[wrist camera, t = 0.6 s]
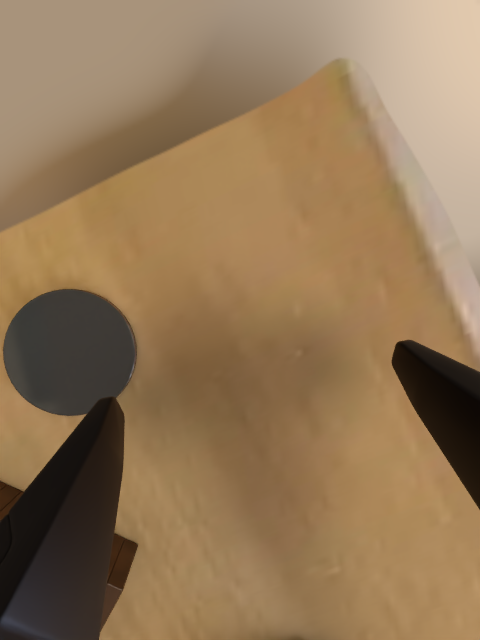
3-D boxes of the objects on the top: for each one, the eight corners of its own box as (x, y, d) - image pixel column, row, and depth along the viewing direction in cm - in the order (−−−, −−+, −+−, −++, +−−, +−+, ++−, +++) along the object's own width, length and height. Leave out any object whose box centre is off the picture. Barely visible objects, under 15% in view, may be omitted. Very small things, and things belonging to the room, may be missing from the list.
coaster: (161, 366, 24) (160, 367, 24) (59, 438, 24) (55, 440, 23) (87, 264, 23) (84, 263, 23) (-20, 337, 23) (-25, 337, 23)
